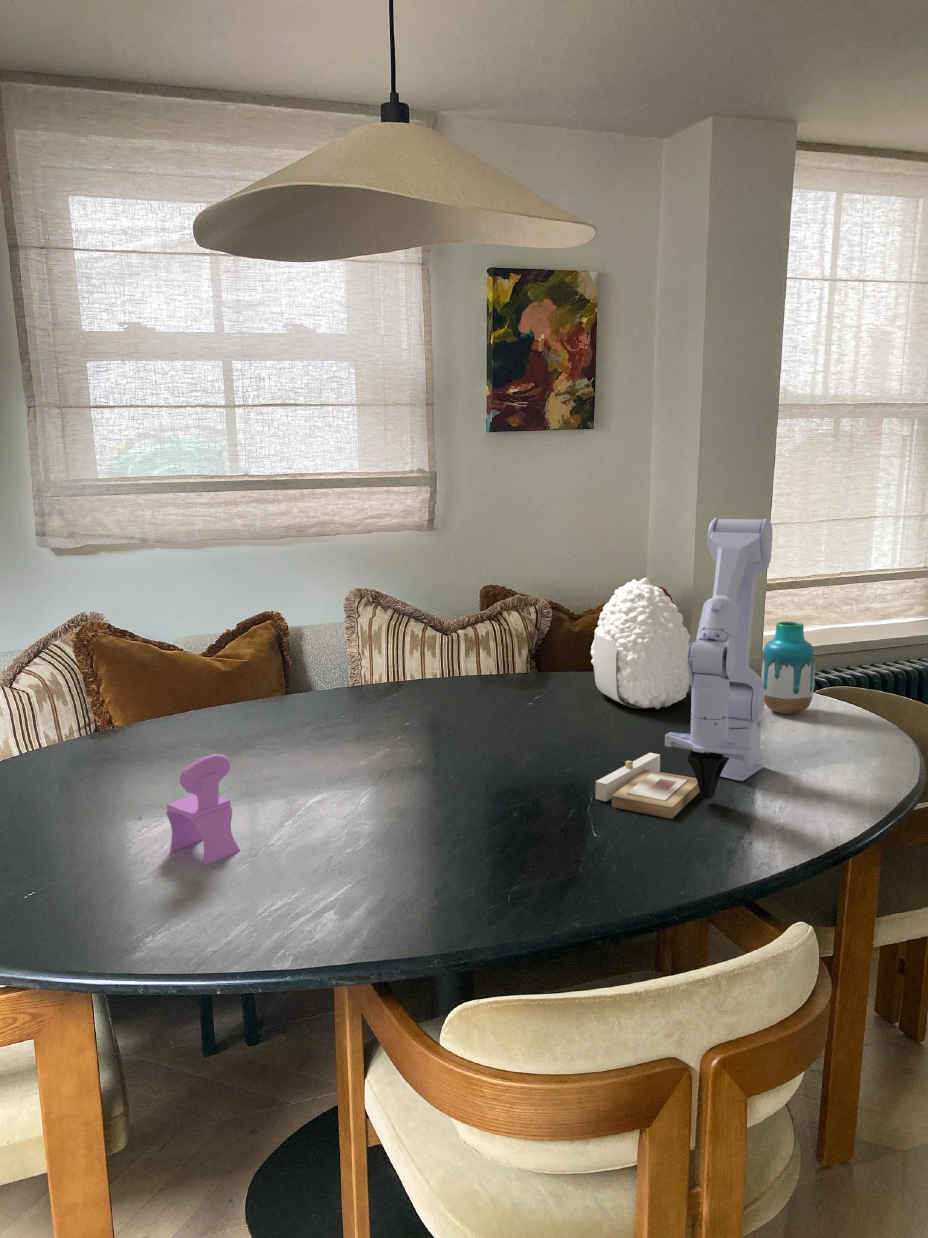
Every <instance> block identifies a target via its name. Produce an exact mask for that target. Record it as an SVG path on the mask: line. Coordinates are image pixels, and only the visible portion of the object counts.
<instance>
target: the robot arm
mask: <svg viewBox="0 0 928 1238" xmlns="http://www.w3.org/2000/svg"><path fill="white" fill-rule="evenodd" d="M773 533H774V532H773V524H772V522H771V521H770V520H769V518H764V519H751V518H750V519H747V518H746V519H741V518H740V519H739V518H719V517H715V518H713V519H712V520H711V521H710V523H709V526H708V531H707V547H708V550H709V553H710V555H711V558H712V560H713V562H714V564H715V573H714V574H715V575H714V580H713V583H714V584H713V590H712V591H713V592H712V597H711V598H709V599H708V600H706V601H704V603H703V607H702V610H701V615H700V620H699V624H698V629H697V633H696V637H695V641H692V642H690V646H689V649H688V655H687V668H688V673H689V686H690V687H691V701H690V702H691V705H690V706H691V707H690V733H679V732H673V731H670V732H667V733H666V734H665V735H664V746H665V747H668V748H672V747H675V748H680V749H684V750H690V752H689V754H688V755H687V756H686V757H687V762H688V764H689V765H690V767H691V769H692V772H693V774H694V775H695V778H696V779H697V782H698V786H699V790H700V792H699V794H700V798H702V799H706V800H710V799H711V798H713V797H715V794H716V788H717V787H718V786H717V785H718V782H719V779H720V777H722V778H726V779H731V780H734V781H739V782H744V781H745V780H747V779H748V778H750V777H751V776H753V775H755V774H756V773H757V772H759V771H760V770H762V769H763V768H764V767H765V764H764V763H761V762H760V752H761V751H760V750H761V730H760V727H759V725H758V723H759V722H761V720H762V718H763V715H764V708H765V703H764V683H763V680H762V678H761V675H759V674H758V673H757V672H756V671H754V670H753V669H752V668H751V667H750V666H749V665H750V655H751V654H750V653H751V645H752V631H753V630H752V629H753V619H754V607H755V597H756V595H755V594H756V586H757V585H756V584H757V581H758V577H759V575H760V573H761V572H763V571H765V570H768V569H769V567H770V563H771V562H772V561H771V560H772V559H771V558H772V548H773V547H772V546H773ZM730 683H740V684H741V683H742V684H747V686H745V685H738V684H737V685H736V684H730Z"/></svg>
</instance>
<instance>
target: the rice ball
mask: <svg viewBox="0 0 928 1238" xmlns="http://www.w3.org/2000/svg"><path fill="white" fill-rule="evenodd" d="M613 594H614V595H612V596H611V597H610V599H609V602H607V603H605V604H604V606H603V607H602V611H601V612H600V614H599V616H598V617H599V619H598V621H597V627H596V628H595V630H594V635H593V637H594V639H593V642H591V643H592V645H591V646H590V648H591V649H590V655H591V657H592V659H591V661H590V662H591V664H592V666H593V673H594V681H595V686H596V687H597V689H598V690H599V691H600V692H601V693H602V694H603V695H605V696H607V697H608V698H609V699H612V700H614V701H615V702H618V703H620V704H623V705H625V706H627V707H629V708H634V709H648V708H649V709H651V708H654V709H656V710H659V709H661V708H662V707H663V708H667V707H670V706H671V705H673V704H677V703H678V702H680V701H682V700H683V699H685V698H686V697H687V693H688V692H689V689H690V687H689V673H688V668H687V655H688V649H689V646H690V643H691V642H690V639H691V634H690V633H689V632H688V629H687V627H685V626H684V624H683V622H684V616H683V614H681V613H680V612H678V611H679V608H678V606H676V605H675V604H674V603H673V602H672V599H671V598H670V597H669V596H668V595H666V594H665V592H664V590H663V589H662V588H659V587H658V586H654V585H652V584H651V581H650V579H649V578H647V577H644V578H642V579H640V580H637V579H632V580H631V581H630V582H629V581H628V582H626V583H625V585H623V586H620V587H618V589H614V592H613Z"/></svg>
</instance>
